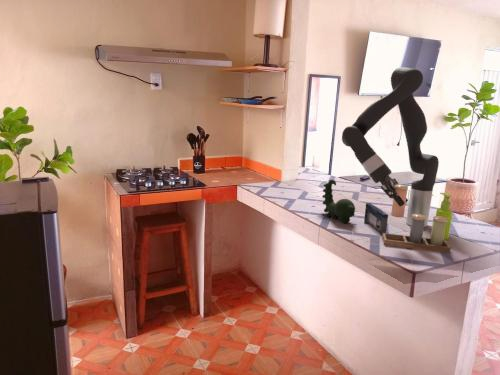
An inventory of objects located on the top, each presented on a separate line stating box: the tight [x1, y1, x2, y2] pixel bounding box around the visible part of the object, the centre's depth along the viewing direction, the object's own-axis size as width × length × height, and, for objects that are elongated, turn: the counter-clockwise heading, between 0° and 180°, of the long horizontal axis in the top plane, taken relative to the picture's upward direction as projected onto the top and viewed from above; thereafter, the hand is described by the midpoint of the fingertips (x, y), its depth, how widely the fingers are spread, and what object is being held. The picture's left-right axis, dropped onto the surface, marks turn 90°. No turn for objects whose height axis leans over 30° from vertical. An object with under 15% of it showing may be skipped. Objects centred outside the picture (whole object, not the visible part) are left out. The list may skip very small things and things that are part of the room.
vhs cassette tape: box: [363, 202, 389, 235], centre depth 169 cm, size 18×3×10 cm, turn 4°
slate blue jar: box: [408, 214, 426, 244], centre depth 149 cm, size 5×5×12 cm
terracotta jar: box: [390, 183, 409, 218], centre depth 148 cm, size 5×5×12 cm
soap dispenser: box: [435, 192, 454, 241], centre depth 158 cm, size 6×7×20 cm
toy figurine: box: [321, 178, 356, 224], centre depth 182 cm, size 9×19×25 cm
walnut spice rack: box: [381, 232, 452, 254], centre depth 150 cm, size 8×24×4 cm, turn 76°
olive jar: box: [429, 215, 447, 246], centre depth 147 cm, size 5×5×12 cm
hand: (404, 203), depth 147 cm, fingers closed on terracotta jar, 4 cm apart
